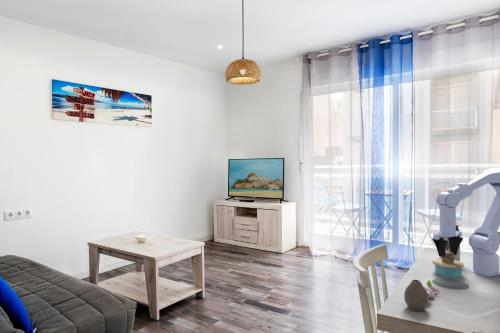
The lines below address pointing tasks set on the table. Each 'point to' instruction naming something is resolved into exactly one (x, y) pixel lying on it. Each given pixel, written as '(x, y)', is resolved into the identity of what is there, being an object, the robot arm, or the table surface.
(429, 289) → the rabbit figure
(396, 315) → the table surface
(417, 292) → the vase
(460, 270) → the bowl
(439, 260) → the lid
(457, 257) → the travel mug
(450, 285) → the mat
